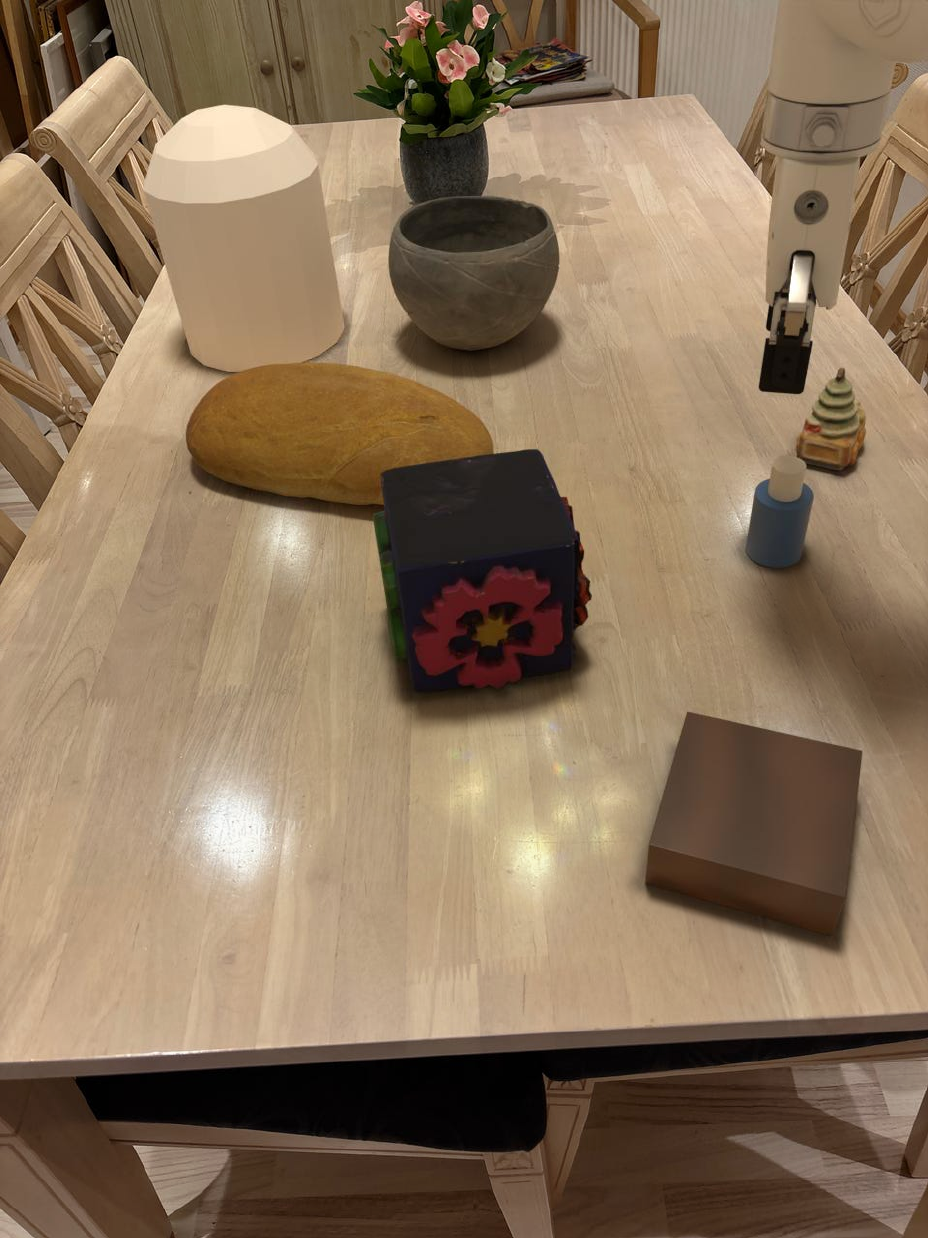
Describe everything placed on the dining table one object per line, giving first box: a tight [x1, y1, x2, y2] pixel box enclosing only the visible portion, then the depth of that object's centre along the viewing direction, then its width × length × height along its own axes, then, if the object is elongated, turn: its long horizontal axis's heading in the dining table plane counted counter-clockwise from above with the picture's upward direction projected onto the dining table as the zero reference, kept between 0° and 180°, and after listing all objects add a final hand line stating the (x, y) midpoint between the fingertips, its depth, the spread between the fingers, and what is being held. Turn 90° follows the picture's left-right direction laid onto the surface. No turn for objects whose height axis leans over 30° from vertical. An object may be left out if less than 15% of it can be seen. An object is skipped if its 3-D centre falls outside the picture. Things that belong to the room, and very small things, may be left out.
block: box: [644, 711, 863, 937], centre depth 66 cm, size 12×12×4 cm
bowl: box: [388, 195, 560, 352], centre depth 120 cm, size 21×21×15 cm
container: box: [143, 104, 346, 373], centre depth 121 cm, size 21×21×28 cm
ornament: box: [795, 366, 867, 471], centre depth 97 cm, size 8×6×10 cm
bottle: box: [745, 455, 815, 569], centre depth 86 cm, size 5×5×10 cm
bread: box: [185, 361, 495, 506], centre depth 103 cm, size 18×35×10 cm, turn 70°
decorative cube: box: [372, 448, 593, 693], centre depth 80 cm, size 16×16×14 cm
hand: (783, 359), depth 75 cm, fingers open, 9 cm apart
